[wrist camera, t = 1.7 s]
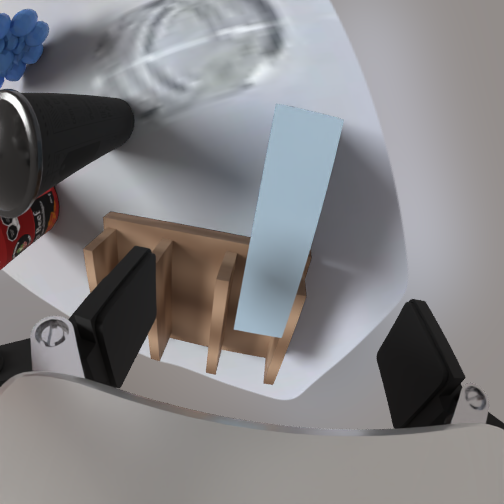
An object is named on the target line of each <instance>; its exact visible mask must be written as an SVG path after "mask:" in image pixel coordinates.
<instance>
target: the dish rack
mask: <svg viewBox="0 0 504 504" xmlns="http://www.w3.org/2000/svg"><path fill="white" fill-rule="evenodd" d="M103 223H104V231H103V232H102V233H101V234H100V235H98V236H97V237H96V238H95V239H94V240H93V241H92V242H91V243H89V244H88V245H87V246H86V247H85V248H84V249H83V251H84V258H85V265H86V271H87V277H88V282H89V288H90V293H91V292H92V291H93V290H94V289H95V287H96V286H97V285H98V284H99V283H100V282H101V281H102V279H103V278H105V277H106V276H107V275H108V274H109V273H110V272H111V271H112V270H113V269H114V268H115V266H116V265H117V264H118V263H119V262H120V261H121V260H122V259H123V258H124V257H125V256H126V255H127V253H128V252H129V251H130V250H131V249H132V248H133V247H134V246H140V247H145V248H150V249H151V251H152V253H154V254H155V255H156V304H157V315H156V319H155V322H154V324H153V325H152V327H151V329H150V331H149V333H148V338H149V347H150V355H151V359H154V360H158V361H160V359H161V357H162V354H163V352H164V350H165V347H166V345H167V343H168V340H169V338H173V339H177V340H181V341H185V342H190V343H194V344H198V345H203V346H207V347H208V357H207V367H206V373H210V374H215V375H216V370H217V366H218V362H219V358H220V353H221V350H226V351H231V352H237V353H242V354H247V355H253V356H259V357H264V358H266V360H265V372H264V384H271V385H273V384H274V381H275V379H276V376H277V374H278V371H279V369H280V366H281V364H282V361H283V359H284V356H285V353H286V351H287V348H288V346H289V343H290V340H291V338H292V335H293V332H294V330H295V327H296V324H297V321H298V319H299V316H300V313H301V310H302V307H303V305H304V302H305V299H306V287H305V277H306V274H307V271H308V267H309V264H310V261H311V258H312V256H311V250H310V251H309V255H308V258H307V261H306V265H305V268H304V271H303V274H302V278H301V281H300V284H299V287H298V290H297V293H296V296H295V300H294V303H293V306H292V309H291V312H290V315H289V318H288V321H287V324H286V327H285V330H284V333H283V336H282V338H278V337H272V336H266V335H261V334H255V333H250V332H244V331H239V330H234V325H235V320H236V314H237V309H238V303H239V298H240V293H241V287H242V282H243V276H244V271H245V266H246V260H247V255H248V249H249V244H250V239H251V237H246V236H240V235H235V234H230V233H225V232H220V231H214V230H209V229H204V228H198V227H193V226H188V225H182V224H177V223H171V222H166V221H161V220H155V219H149V218H144V217H138V216H133V215H127V214H122V213H116V212H109V213H108V214H107V215H105V216H104V217H103Z"/></svg>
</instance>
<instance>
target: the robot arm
mask: <svg viewBox="0 0 504 504" xmlns="http://www.w3.org/2000/svg"><path fill="white" fill-rule="evenodd" d="M156 315H157V304H156V255H155V254H154V253H152V251H151V249H150V248H145V247H140V246H134V247H133V248H132V249H131V250H130V251H129V252H128V253H127V255H126V256H125V257H124V258H123V259H122V260H121V261H120V262H119V263H118V264H117V265H116V266H115V268H114V269H113V270H112V271H111V272H110V273H109V274H108V275H107V276H106V277H105V278H103V279H102V281H101V282H100V283H99V284H98V285H97V286H96V287H95V289H94V290H93V291H92V292H91V293H90V294H89V295H88V297H87V298H86V299H85V300H84V301H83V302H82V304H81V305H80V306H79V307H78V308H77V310H76V311H75V312H74V313H73V314H72V316H71V317H70V318H69V319H66V318H64V317H60V316H49V317H46V318H43V319H42V320H40V321H39V322H37V324H35V325H34V327H33V329H32V331H31V338H29V339H25V340H21V341H17V342H13V343H9V344H5V345H1V346H0V504H504V423H502V422H501V421H500V420H498V419H497V418H496V417H494V416H493V415H492V414H490V413H489V412H488V409H489V399H488V397H487V395H486V393H485V391H484V390H483V389H482V388H481V387H479V386H478V385H476V384H473V383H467V384H465V385H464V386H463V387H462V386H461V382H462V381H463V380H464V379H465V375H464V373H463V372H462V369H461V367H460V365H459V363H458V361H457V359H456V357H455V355H454V353H453V351H452V349H451V347H450V345H449V343H448V341H447V339H446V338H445V336H444V334H443V332H442V330H441V328H440V326H439V325H438V323H437V321H436V319H435V317H434V316H433V314H432V312H431V310H430V309H429V307H428V305H427V304H426V302H425V301H421V300H415V299H412V300H410V301H409V302H407V303H405V305H404V306H403V308H402V310H401V312H400V314H399V316H398V318H397V319H396V321H395V323H394V325H393V327H392V328H391V330H390V332H389V334H388V336H387V337H386V339H385V341H384V342H383V344H382V346H381V347H380V349H379V351H378V353H377V363H378V366H379V370H380V373H381V377H382V381H383V385H384V389H385V393H386V397H387V401H388V405H389V410H390V414H391V418H392V423H393V427H394V428H395V429H373V430H350V429H349V430H348V429H321V428H306V427H293V426H284V425H275V424H268V423H260V422H253V421H247V420H241V419H234V418H229V417H224V416H218V415H214V414H209V413H204V412H199V411H195V410H191V409H187V408H183V407H179V406H175V405H171V404H168V403H164V402H160V401H156V400H152V399H149V398H146V397H142V396H139V395H136V394H133V393H129V392H126V391H123V390H120V389H117V388H120V387H121V386H122V384H123V382H124V380H125V378H126V376H127V374H128V372H129V370H130V368H131V366H132V364H133V362H134V359H135V358H136V356H137V354H138V352H139V350H140V348H141V346H142V344H143V343H144V341H145V339H146V337H147V335H148V333H149V331H150V329H151V327H152V325H153V324H154V322H155V319H156Z"/></svg>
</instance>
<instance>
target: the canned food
mask: <svg viewBox="0 0 504 504" xmlns="http://www.w3.org/2000/svg"><path fill="white" fill-rule="evenodd" d="M58 213H59V203H58V198H57V194H56V191H55V188H54V187H52V188H51V189H49V190H48V191H46V192H45V193H44V194H42V195H41V196H39V197H38V198H37V199H35V201H34V202H33V204H32V205H31V207H30V208H29V209H28V210H27V211H26V212H25V213H23V214H22V215H20V216H18V217H16V218H4V217H1V216H0V270H1V269H2V268H4V267H5V266H6V265H7V264H8V263H9V262H10V261H12V260H13V259H14V258H15V257H16V256H18V255H19V254H20V253H21V252H22V251H24V250H25V249H26V248H27V247H28V246H30V245H31V244H32V243H34V242H35V241H36V240H37V239H39V238H40V237H41V236H43V235H44V234H45V233H46V232H48V231H49V230H50V229H51V228H52V227H53V225H54V224H55V222H56V220H57V218H58Z"/></svg>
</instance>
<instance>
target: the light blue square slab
mask: <svg viewBox="0 0 504 504" xmlns="http://www.w3.org/2000/svg"><path fill="white" fill-rule="evenodd" d="M343 122H344V119H340V118H337V117H333V116H329V115H325V114H321V113H317V112H313V111H309V110H304V109H300V108H295V107H291V106H286V105H281V104H276V107H275V112H274V117H273V122H272V128H271V133H270V138H269V143H268V149H267V154H266V159H265V164H264V170H263V175H262V180H261V185H260V191H259V196H258V201H257V207H256V212H255V217H254V223H253V228H252V233H251V239H250V244H249V249H248V255H247V260H246V266H245V271H244V276H243V282H242V287H241V293H240V298H239V303H238V309H237V314H236V320H235V325H234V330H239V331H244V332H250V333H255V334H261V335H266V336H272V337H278V338H282V336H283V333H284V330H285V327H286V324H287V321H288V318H289V315H290V312H291V309H292V306H293V303H294V300H295V296H296V293H297V290H298V287H299V284H300V281H301V278H302V274H303V271H304V268H305V265H306V261H307V258H308V255H309V251H310V248H311V245H312V241H313V238H314V234H315V231H316V227H317V224H318V220H319V217H320V213H321V209H322V206H323V202H324V198H325V195H326V191H327V187H328V183H329V179H330V175H331V172H332V168H333V164H334V160H335V156H336V151H337V147H338V143H339V139H340V135H341V130H342V126H343Z"/></svg>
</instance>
